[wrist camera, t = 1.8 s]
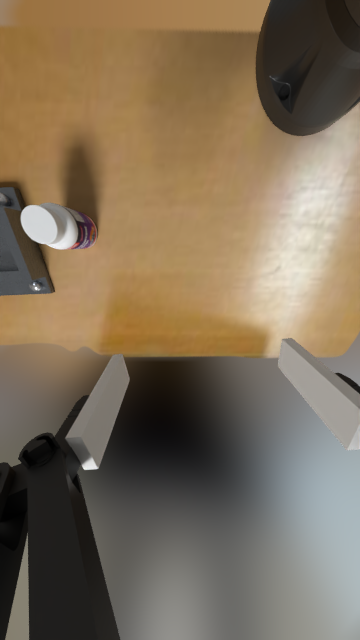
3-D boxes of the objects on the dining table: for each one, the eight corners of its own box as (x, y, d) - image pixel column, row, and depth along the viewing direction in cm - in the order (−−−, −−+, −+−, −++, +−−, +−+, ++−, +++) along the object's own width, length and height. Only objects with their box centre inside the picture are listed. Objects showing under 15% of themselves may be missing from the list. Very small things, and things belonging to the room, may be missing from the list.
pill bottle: (89, 255, 30) (51, 260, 21) (59, 233, 28) (6, 228, 20) (104, 228, 28) (71, 221, 19) (74, 203, 27) (23, 183, 18)
